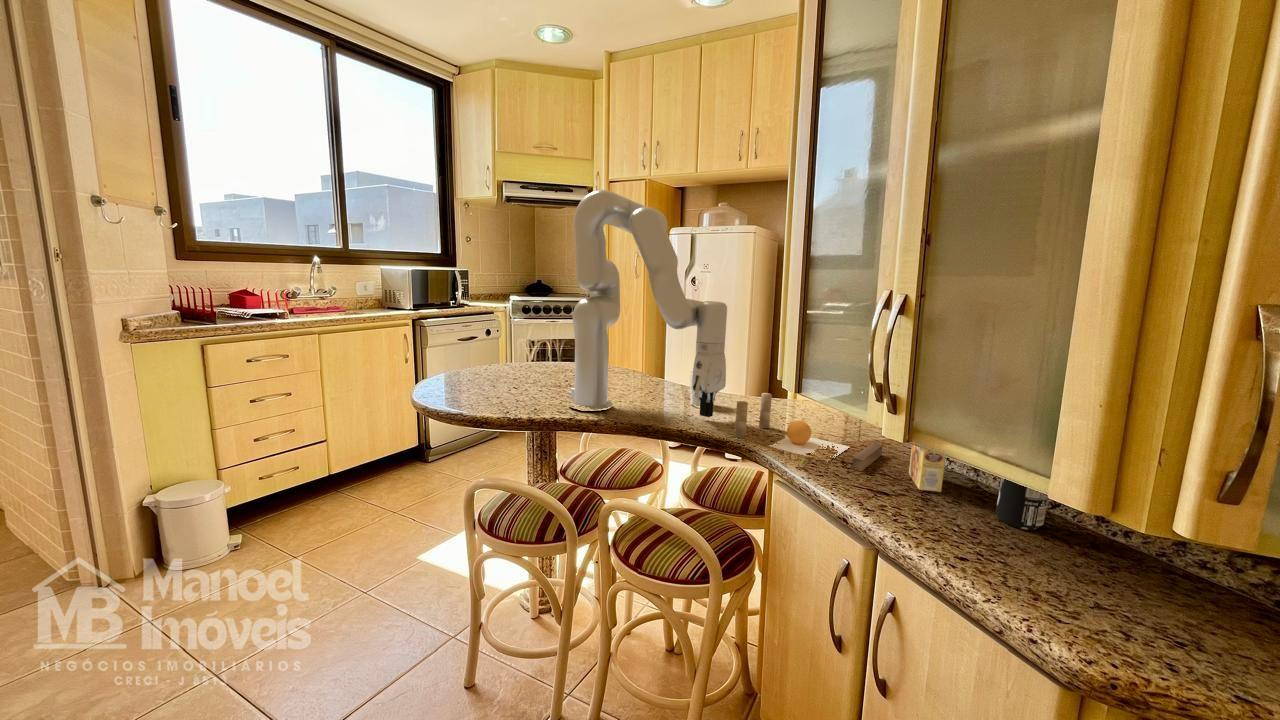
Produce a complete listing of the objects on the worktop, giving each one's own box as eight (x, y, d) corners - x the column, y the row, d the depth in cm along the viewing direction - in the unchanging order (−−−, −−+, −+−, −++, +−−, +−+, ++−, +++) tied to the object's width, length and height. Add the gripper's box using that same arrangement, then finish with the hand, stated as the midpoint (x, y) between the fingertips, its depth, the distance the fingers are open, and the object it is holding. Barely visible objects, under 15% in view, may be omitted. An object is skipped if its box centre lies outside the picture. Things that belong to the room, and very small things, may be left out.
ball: (810, 436, 120) (795, 451, 122) (819, 430, 124) (804, 445, 127) (793, 418, 122) (778, 434, 125) (802, 413, 126) (787, 428, 129)
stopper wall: (851, 469, 109) (852, 457, 109) (872, 452, 120) (873, 442, 120) (861, 471, 108) (862, 460, 108) (881, 455, 119) (882, 444, 118)
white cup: (684, 402, 159) (686, 370, 158) (708, 401, 162) (710, 370, 160) (694, 409, 152) (696, 376, 150) (719, 408, 154) (721, 375, 153)
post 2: (757, 427, 136) (759, 394, 135) (761, 425, 138) (764, 392, 137) (766, 429, 135) (769, 395, 133) (770, 427, 137) (773, 394, 135)
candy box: (942, 493, 99) (953, 415, 96) (917, 490, 100) (928, 413, 97) (928, 476, 107) (938, 403, 105) (906, 473, 108) (915, 401, 106)
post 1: (732, 438, 127) (734, 402, 125) (737, 435, 129) (740, 400, 127) (741, 440, 125) (744, 404, 124) (747, 438, 127) (749, 402, 126)
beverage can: (997, 509, 93) (1007, 445, 91) (1043, 521, 89) (1055, 454, 87) (992, 522, 88) (1004, 454, 86) (1041, 535, 84) (1054, 464, 81)
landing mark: (768, 446, 121) (768, 446, 121) (794, 434, 132) (794, 433, 132) (828, 462, 113) (828, 461, 113) (850, 447, 123) (850, 446, 123)
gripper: (706, 353, 129) (702, 424, 132) (737, 347, 141) (732, 413, 144) (682, 349, 134) (678, 418, 137) (713, 344, 145) (709, 408, 148)
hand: (706, 415), depth 140 cm, fingers closed
